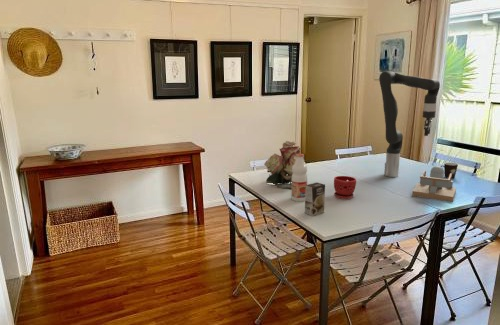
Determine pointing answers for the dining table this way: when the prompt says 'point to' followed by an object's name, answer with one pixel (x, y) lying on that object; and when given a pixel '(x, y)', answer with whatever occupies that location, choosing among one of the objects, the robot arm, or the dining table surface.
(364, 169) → the dining table surface
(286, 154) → the rose bouquet
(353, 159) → the dining table surface
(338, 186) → the plant pot
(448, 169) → the coffee mug
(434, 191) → the wooden peg board
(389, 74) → the robot arm
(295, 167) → the fruit juice
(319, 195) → the coffee box
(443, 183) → the thin wooden rail frame
